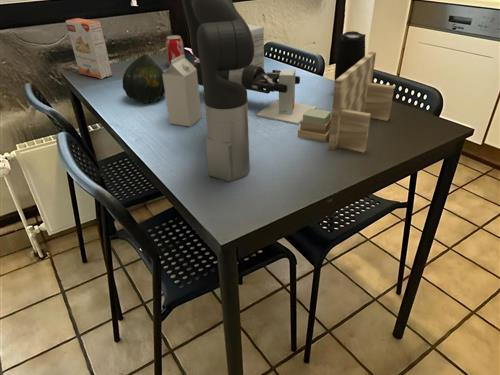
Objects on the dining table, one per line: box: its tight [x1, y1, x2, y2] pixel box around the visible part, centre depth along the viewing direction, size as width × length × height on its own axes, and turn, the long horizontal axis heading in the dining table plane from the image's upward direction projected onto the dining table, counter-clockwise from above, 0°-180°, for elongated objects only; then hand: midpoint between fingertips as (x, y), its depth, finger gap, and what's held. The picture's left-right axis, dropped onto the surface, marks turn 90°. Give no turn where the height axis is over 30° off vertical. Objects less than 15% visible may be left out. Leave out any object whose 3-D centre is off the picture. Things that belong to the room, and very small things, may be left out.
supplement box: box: [246, 23, 265, 70], centre depth 152 cm, size 13×13×18 cm
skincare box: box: [278, 68, 296, 114], centre depth 120 cm, size 6×4×12 cm
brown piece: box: [328, 51, 396, 154], centre depth 106 cm, size 28×8×18 cm, turn 149°
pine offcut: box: [297, 128, 331, 144], centre depth 109 cm, size 6×8×2 cm
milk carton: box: [162, 53, 202, 127], centre depth 115 cm, size 7×7×19 cm
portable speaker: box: [334, 30, 367, 81], centre depth 130 cm, size 9×9×20 cm
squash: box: [122, 54, 165, 104], centre depth 134 cm, size 14×15×15 cm
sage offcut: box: [303, 108, 332, 125], centre depth 107 cm, size 5×6×2 cm
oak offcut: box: [299, 117, 332, 135], centre depth 108 cm, size 6×7×2 cm
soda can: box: [165, 34, 185, 67], centre depth 165 cm, size 7×7×12 cm
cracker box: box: [65, 17, 113, 79], centre depth 155 cm, size 14×6×21 cm, turn 55°
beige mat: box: [255, 99, 318, 126], centre depth 124 cm, size 14×14×1 cm
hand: (293, 84), depth 118 cm, fingers open, 8 cm apart
